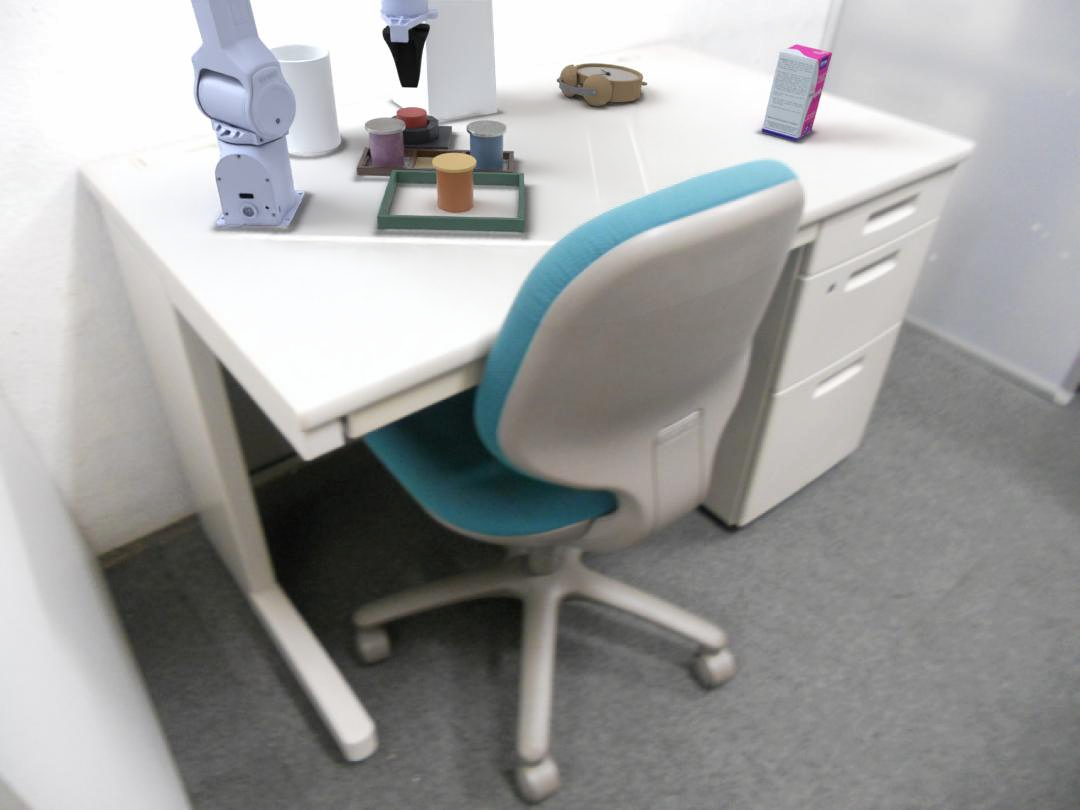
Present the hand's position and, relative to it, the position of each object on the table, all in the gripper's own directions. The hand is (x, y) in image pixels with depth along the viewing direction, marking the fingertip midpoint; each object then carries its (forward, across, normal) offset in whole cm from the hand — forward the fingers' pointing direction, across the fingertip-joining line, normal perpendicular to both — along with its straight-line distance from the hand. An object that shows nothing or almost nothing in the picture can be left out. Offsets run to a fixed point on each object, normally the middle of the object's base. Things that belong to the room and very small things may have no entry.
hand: (410, 86), depth 108 cm
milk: (+8, +16, -3) cm, 18 cm away
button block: (+8, 0, 0) cm, 8 cm away
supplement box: (+8, +9, -54) cm, 55 cm away
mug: (+8, 0, +15) cm, 17 cm away
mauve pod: (+8, -8, +2) cm, 12 cm away
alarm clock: (+8, +23, -27) cm, 36 cm away
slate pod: (+8, -8, -10) cm, 15 cm away
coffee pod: (+7, -20, -7) cm, 22 cm away
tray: (+8, -20, -7) cm, 23 cm away
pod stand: (+8, -8, -4) cm, 12 cm away
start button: (+5, 0, 0) cm, 5 cm away
